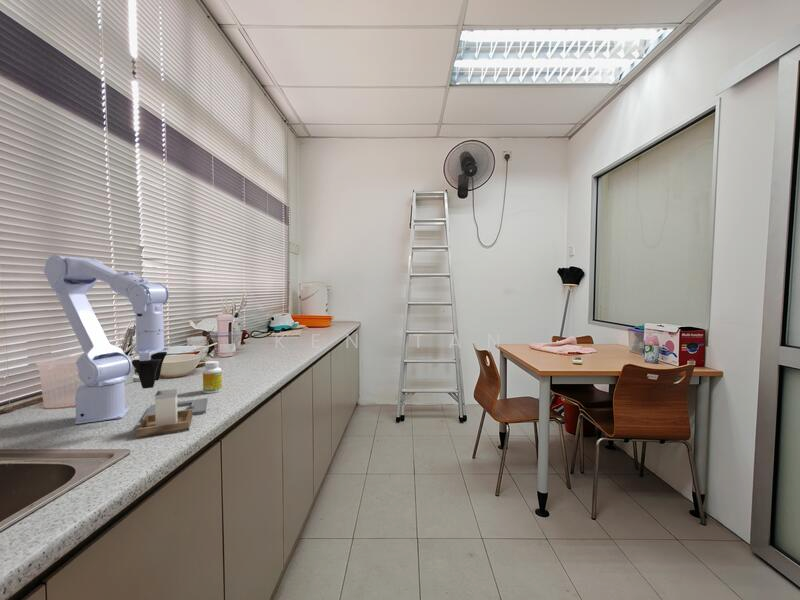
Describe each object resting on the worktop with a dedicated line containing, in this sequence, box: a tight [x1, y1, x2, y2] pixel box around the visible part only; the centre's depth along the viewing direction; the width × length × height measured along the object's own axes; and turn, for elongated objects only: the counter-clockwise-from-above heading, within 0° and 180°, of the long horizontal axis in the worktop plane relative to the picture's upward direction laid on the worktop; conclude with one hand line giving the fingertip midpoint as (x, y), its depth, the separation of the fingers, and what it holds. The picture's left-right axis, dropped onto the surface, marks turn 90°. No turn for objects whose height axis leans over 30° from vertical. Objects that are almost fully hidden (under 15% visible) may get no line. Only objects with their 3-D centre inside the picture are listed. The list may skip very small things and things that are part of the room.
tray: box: [136, 408, 193, 439], centre depth 83 cm, size 10×10×2 cm
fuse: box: [154, 388, 178, 426], centre depth 83 cm, size 4×4×8 cm
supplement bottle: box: [202, 360, 223, 394], centre depth 113 cm, size 5×5×10 cm
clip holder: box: [141, 397, 209, 421], centre depth 95 cm, size 14×12×2 cm
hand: (151, 384), depth 87 cm, fingers open, 7 cm apart
